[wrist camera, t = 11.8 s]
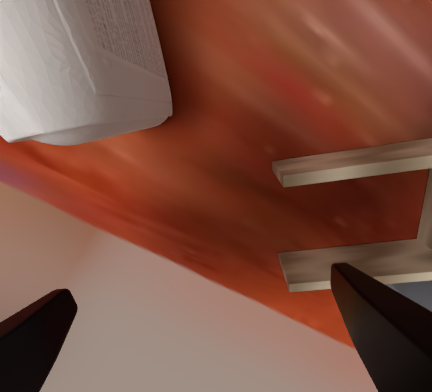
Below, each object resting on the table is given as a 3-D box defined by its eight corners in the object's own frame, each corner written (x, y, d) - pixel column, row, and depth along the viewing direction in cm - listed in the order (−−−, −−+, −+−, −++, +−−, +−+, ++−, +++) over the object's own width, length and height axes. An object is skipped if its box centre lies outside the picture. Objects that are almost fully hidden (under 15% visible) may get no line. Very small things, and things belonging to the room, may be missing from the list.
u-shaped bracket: (447, 135, 17) (510, 144, 13) (424, 245, 20) (469, 277, 16) (271, 161, 18) (283, 175, 14) (278, 259, 21) (289, 292, 18)
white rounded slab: (75, -37, 14) (-613, -677, 3) (140, -56, 14) (-350, -958, 2) (128, 131, 18) (-56, 178, 6) (181, 121, 17) (87, 151, 6)
